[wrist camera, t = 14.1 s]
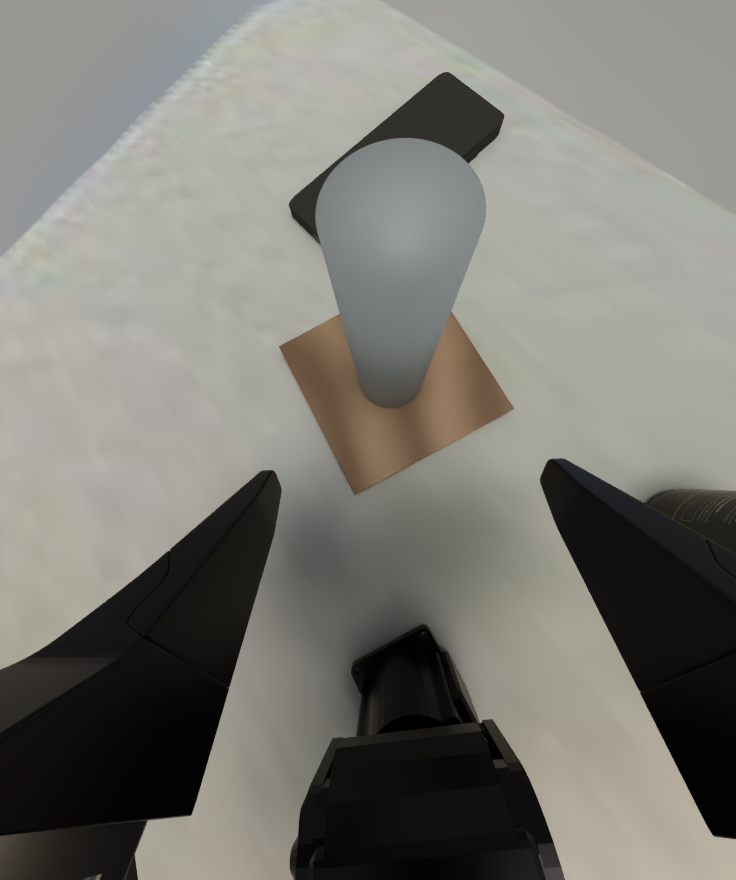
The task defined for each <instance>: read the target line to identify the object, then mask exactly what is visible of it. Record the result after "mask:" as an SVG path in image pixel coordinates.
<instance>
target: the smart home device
mask: <svg viewBox="0 0 736 880" xmlns="http://www.w3.org/2000/svg"><path fill="white" fill-rule="evenodd" d="M503 119H504V114H503V113H502V112H501V111H499V110H498V109H497V108H495V107H494V106H493V105H492V104H490V103H489V102H488V101H486V100H485V99H484V98H482V97H481V96H480V95H478V94H477V93H476V92H474V91H473V90H472V89H470V88H469V87H468V86H467V85H465V84H464V83H463V82H461V81H460V80H459V79H457V78H456V77H455V76H453V75H452V74H450V73H449V72H445V73H442V74H440V75H439V76H437V77H436V78H435V79H433V80H432V81H431V82H430V83H429V84H427V85H426V86H425V87H424V88H423V89H422V90H420V91H419V92H418V93H417V94H416V95H414V96H413V97H412V98H411V99H410V100H408V101H407V102H406V103H405V104H404V105H402V106H401V107H400V108H399V109H398V110H397V111H395V112H394V113H393V114H392V115H391V116H389V117H388V118H387V119H386V120H385V121H383V122H382V123H381V124H380V125H379V126H377V127H376V128H375V129H374V130H373V131H372V132H370V133H369V134H368V135H367V136H366V137H364V138H363V139H362V140H361V141H360V142H358V143H357V144H356V145H355V146H354V147H353V148H351V149H350V150H349V151H348V152H347V153H345V154H344V155H343V156H342V157H341V158H339V159H338V160H337V161H336V162H335V163H333V164H332V165H331V166H330V167H329V168H328V169H326V170H325V171H324V172H323V173H322V174H320V175H319V176H318V177H317V178H316V179H314V180H313V181H312V182H311V183H310V184H308V185H307V186H306V187H305V188H304V189H303V190H301V191H300V192H299V193H298V194H297V195H295V196H294V197H293V199H292V200H291V201H290V203H289V207H290V210H291V213H292V215H293V218H294V219H295V220H296V221H297V222H298V223H299V224H300V225H301V226H302V227H303V228H304V229H305V230H306V231H307V232H308V233H309V234H311V235H312V236H313V237H314V239H315V240H316V241H318V242H319V243H320V240H319V236H318V233H317V228H316V221H315V211H316V205H317V200H318V197H319V193H320V191H321V189H322V186H323V184H324V183H325V181H326V179H327V178H328V176H329V175H330V174H331V172H332V171H333V170H334V169H335V167H337V166H338V165H339V164H340V163H341V162H342V161H343V160H344V159H345V158H347V157H348V156H349V155H351V154H352V153H354V152H356V151H357V150H359V149H361V148H363V147H365V146H368V145H370V144H373V143H376V142H379V141H384V140H388V139H396V138H415V139H423V140H427V141H431V142H434V143H437V144H440V145H442V146H444V147H446V148H448V149H450V150H452V151H454V152H455V153H456V154H458V155H459V156H461V157H462V158H463V159H464V160H465V161H466V162H467V163H468V162H470V161H471V160H472V159H473V158H474V157H475V156H477V155H478V153H479V152H480V151H482V150H483V149H484V148H485V147H486V146H487V145H489V144H490V143H491V142H492V141H493V140H494V139H495V138H496V137H497V136H498V134H499V131H500V128H501V125H502V122H503Z"/></svg>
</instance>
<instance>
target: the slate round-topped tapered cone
mask: <svg viewBox="0 0 736 880" xmlns="http://www.w3.org/2000/svg"><path fill="white" fill-rule="evenodd" d="M485 217H486V201H485V194H484V191H483V187H482V185H481V182H480V180H479V178H478V176H477V175H476V173H475V171H474V170H473V169H472V167H471V166H470V165H469V164H468V163H467V162H466V161H465V160H464V159H463V158H462V157H461V156H459V155H458V154H456V153H455V152H454V151H452V150H450V149H448V148H446V147H444V146H442V145H440V144H437V143H434V142H431V141H427V140H423V139H415V138H396V139H388V140H384V141H379V142H376V143H373V144H370V145H368V146H365V147H363V148H361V149H359V150H357V151H356V152H354V153H352V154H351V155H349V156H348V157H347V158H345V159H344V160H343V161H342V162H341V163H340V164H339V165H338V166H337V167H335V169H334V170H333V171H332V172H331V174H330V175H329V176H328V178H327V179H326V181H325V183H324V184H323V186H322V189H321V191H320V193H319V197H318V200H317V205H316V211H315V221H316V228H317V233H318V236H319V240H320V244H321V247H322V251H323V254H324V258H325V261H326V265H327V269H328V272H329V276H330V279H331V283H332V287H333V290H334V294H335V297H336V301H337V305H338V308H339V312H340V315H341V319H342V323H343V326H344V330H345V333H346V337H347V341H348V344H349V348H350V351H351V355H352V359H353V362H354V366H355V369H356V373H357V377H358V380H359V384H360V387H361V390H362V392H363V394H364V395H365V396H366V398H367V399H368V400H370V401H371V402H372V403H374V404H375V405H377V406H380V407H384V408H398V407H401V406H404V405H406V404H408V403H409V402H411V401H412V400H413V399H414V398H415V397H416V396H417V395H418V393H419V391H420V390H421V387H422V384H423V382H424V379H425V377H426V374H427V371H428V369H429V366H430V364H431V361H432V359H433V356H434V353H435V351H436V348H437V346H438V343H439V341H440V338H441V335H442V333H443V330H444V328H445V325H446V322H447V320H448V317H449V315H450V312H451V310H452V307H453V304H454V302H455V299H456V297H457V294H458V291H459V289H460V286H461V284H462V281H463V279H464V276H465V273H466V271H467V268H468V266H469V263H470V260H471V258H472V255H473V253H474V250H475V248H476V245H477V242H478V240H479V237H480V235H481V232H482V229H483V226H484V222H485Z"/></svg>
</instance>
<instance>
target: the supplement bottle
mask: <svg viewBox="0 0 736 880" xmlns="http://www.w3.org/2000/svg"><path fill="white" fill-rule="evenodd" d="M648 506H650V507H652V508H653V509H655V510H657V511H659V512H661V513H662V514H664V515H666V516H668V517H670V518H671V519H673V520H675V521H677V522H679V523H680V524H682V525H684V526H686V527H688V528H689V529H691V530H693V531H695V532H696V533H698V534H700V535H702V536H703V537H704V538H705V539H709V540H711V541H713V542H715V543H716V544H718V545H720V546H722V547H723V548H725V549H727V550H729V551H731V552H732V553H734V554H736V491H726V490H704V489H679V490H673V491H669V492H666V493H664V494H661V495H660V496H658V497H656V498H655V499H654V500H653V501H652V502H650V504H649V505H648Z"/></svg>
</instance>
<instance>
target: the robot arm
mask: <svg viewBox="0 0 736 880" xmlns="http://www.w3.org/2000/svg"><path fill="white" fill-rule="evenodd" d="M540 483H541V486H542V489H543V492H544V494H545V497H546V500H547V502H548V505H549V508H550V510H551V513H552V516H553V519H554V521H555V524H556V526H557V528H558V530H559V532H560V534H561V536H562V538H563V540H564V542H565V544H566V546H567V548H568V550H569V552H570V554H571V556H572V558H573V560H574V562H575V564H576V566H577V568H578V570H579V572H580V574H581V576H582V578H583V580H584V582H585V584H586V586H587V588H588V590H589V592H590V594H591V596H592V598H593V600H594V602H595V604H596V606H597V608H598V610H599V612H600V614H601V616H602V618H603V620H604V622H605V624H606V626H607V628H608V630H609V632H610V634H611V636H612V638H613V640H614V642H615V644H616V646H617V648H618V650H619V652H620V654H621V656H622V658H623V660H624V662H625V664H626V666H627V668H628V670H629V672H630V674H631V676H632V678H633V679H634V681H635V683H636V685H637V687H638V689H639V691H641V692H640V694H641V696H642V698H643V700H644V702H645V704H646V706H647V708H648V710H649V712H650V714H651V716H652V718H653V720H654V722H655V724H656V726H657V728H658V730H659V732H660V734H661V736H662V738H663V740H664V742H665V744H666V746H667V748H668V750H669V752H670V753H671V755H672V757H673V759H674V761H675V763H676V765H677V767H678V769H679V771H680V773H681V775H682V777H683V779H684V781H685V783H686V785H687V787H688V789H689V791H690V793H691V795H692V797H693V799H694V801H695V803H696V805H697V807H698V809H699V811H700V813H701V815H702V817H703V819H704V821H705V823H706V825H707V826H708V828H709V830H710V831H711V833H712V835H713V836H715V837H722V838H729V839H736V554H734V553H732V552H731V551H729V550H727V549H725V548H723V547H722V546H720V545H718V544H716V543H715V542H713V541H711V540H709V539H705V538H704V537H703V536H702V535H700V534H698V533H696V532H695V531H693V530H691V529H689V528H688V527H686V526H684V525H682V524H680V523H679V522H677V521H675V520H673V519H671V518H670V517H668V516H666V515H664V514H662V513H661V512H659V511H657V510H655V509H653V508H652V507H650V506H648V505H646V504H645V503H643V502H641V501H639V500H637V499H636V498H634V497H632V496H630V495H628V494H627V493H625V492H623V491H621V490H619V489H618V488H616V487H614V486H612V485H611V484H609V483H607V482H605V481H603V480H602V479H600V478H598V477H596V476H594V475H593V474H591V473H589V472H587V471H585V470H584V469H582V468H580V467H578V466H576V465H575V464H573V463H571V462H569V461H568V460H566V459H562V458H560V459H550V460H548V461H547V463H546V466H545V468H544V470H543V472H542V475H541V477H540ZM280 498H281V485H280V483H279V480H278V478H277V475H276V473H275V472H274V471H273V470H265V471H261V472H259V473H258V474H257V475H256V476H255V477H254V478H252V479H251V480H250V481H249V482H248V483H247V484H245V485H244V486H243V487H242V488H241V489H240V490H239V491H237V492H236V493H235V494H234V495H233V496H232V497H230V498H229V499H228V500H227V501H226V502H225V503H223V504H222V505H221V506H220V507H219V508H218V509H216V510H215V511H214V512H213V513H212V514H211V515H209V516H208V517H207V518H206V519H205V520H204V521H202V522H201V523H200V524H199V525H198V526H197V527H196V528H194V529H193V530H192V531H191V532H190V533H189V534H187V535H186V536H185V537H184V538H183V539H182V540H180V541H179V542H178V543H177V544H176V545H175V546H173V547H172V548H171V549H170V551H168V552H166V553H165V554H164V555H163V556H162V557H161V558H159V559H158V560H157V561H156V562H155V563H153V564H152V565H151V566H150V567H149V568H147V569H146V570H145V571H144V572H143V573H141V574H140V575H139V576H138V577H137V578H135V579H134V580H133V581H132V582H130V583H129V584H128V585H126V586H125V587H124V588H123V589H121V590H120V591H119V592H117V593H116V594H115V595H114V596H112V597H111V598H110V599H108V600H107V601H106V602H104V603H103V604H102V605H100V606H99V607H98V608H97V609H95V610H94V611H93V612H91V613H90V614H89V615H87V616H86V617H85V618H83V619H82V620H81V621H80V622H78V623H77V624H76V625H74V626H73V627H72V628H70V629H69V630H68V631H66V632H65V633H64V634H62V635H61V636H60V637H58V638H57V639H56V640H54V641H53V642H51V643H50V644H49V645H47V646H45V647H44V648H42V649H41V650H39V651H38V652H36V653H34V654H32V655H31V656H29V657H27V658H25V659H23V660H21V661H19V662H17V663H15V664H13V665H10V666H8V667H6V668H3V669H1V670H0V880H138V877H137V869H136V862H135V852H136V850H137V847H138V844H139V842H140V839H141V836H142V834H143V831H144V829H145V826H146V823H147V821H148V820H156V819H165V818H175V817H184V816H191V815H192V812H193V809H194V806H195V803H196V800H197V796H198V793H199V790H200V786H201V783H202V779H203V776H204V773H205V769H206V766H207V762H208V759H209V755H210V752H211V749H212V745H213V742H214V738H215V735H216V732H217V728H218V725H219V721H220V718H221V715H222V711H223V708H224V704H225V701H226V697H227V694H228V691H229V686H230V683H231V680H232V676H233V673H234V670H235V666H236V663H237V659H238V656H239V652H240V649H241V646H242V642H243V639H244V635H245V632H246V629H247V625H248V622H249V618H250V615H251V612H252V608H253V605H254V601H255V598H256V594H257V591H258V588H259V584H260V581H261V577H262V574H263V571H264V567H265V564H266V560H267V557H268V554H269V550H270V547H271V543H272V540H273V536H274V532H275V527H276V521H277V515H278V509H279V504H280ZM422 632H427V635H426V636H422V635H421V634H422ZM356 668H360V669H361V671H360V672H357V671H356V670H355V669H356ZM351 674H352V676H353V679H354V681H355V683H356V685H357V687H358V689H359V692H360V694H361V701H360V709H359V718H358V726H357V735H356V737H349V738H342V737H340V738H333V739H332V741H331V743H330V745H329V747H328V749H327V751H326V753H325V755H324V757H323V760H322V762H321V764H320V766H319V768H318V770H317V772H316V774H315V776H314V779H313V781H312V783H311V785H310V787H309V790H308V793H307V796H306V798H305V800H304V802H303V804H302V807H301V811H300V819H299V833H298V837H297V839H296V840H295V842H294V844H293V846H292V850H291V856H290V872H291V874H292V876H293V879H294V880H565V879H564V875H563V872H562V868H561V865H560V862H559V859H558V855H557V852H556V849H555V846H554V843H553V840H552V837H551V834H550V831H549V829H548V826H547V823H546V820H545V817H544V815H543V812H542V809H541V807H540V804H539V802H538V799H537V797H536V794H535V792H534V789H533V787H532V785H531V782H530V780H529V778H528V776H527V774H526V772H525V770H524V768H523V766H522V764H521V762H520V761H519V759H518V758H517V756H516V755H515V753H514V752H513V750H512V749H511V747H510V746H509V744H508V742H507V741H506V739H505V738H504V736H503V735H502V733H501V732H500V730H499V729H498V727H497V726H496V724H495V722H494V721H493V719H489V720H482V723H480V722H479V719H478V717H477V714H476V711H475V709H474V706H473V703H472V701H471V698H470V696H469V693H468V690H467V688H466V685H465V683H464V681H463V680H462V678H461V676H460V674H459V672H458V670H457V668H456V666H455V664H454V662H453V660H452V658H451V656H450V655H449V653H448V652H446V651H443V652H441V650H440V648H439V646H438V644H437V642H436V640H435V638H434V636H433V634H432V632H431V630H430V629H429V627H428V626H426V625H422V626H419V627H418V628H416V629H414V630H412V631H410V632H408V633H406V634H405V635H403V636H401V637H399V638H397V639H395V640H394V641H392V642H390V643H388V644H386V645H384V646H383V647H381V648H379V649H377V650H375V651H373V652H372V653H370V654H368V655H366V656H364V657H362V658H361V659H359V660H357V661H355V662H354V663H353V665H352V669H351Z"/></svg>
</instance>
